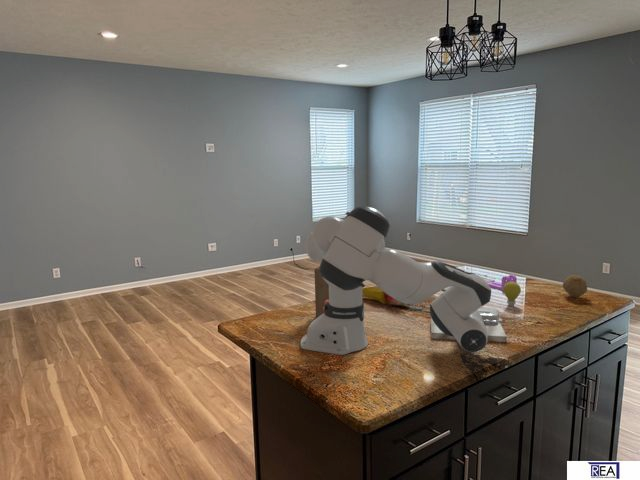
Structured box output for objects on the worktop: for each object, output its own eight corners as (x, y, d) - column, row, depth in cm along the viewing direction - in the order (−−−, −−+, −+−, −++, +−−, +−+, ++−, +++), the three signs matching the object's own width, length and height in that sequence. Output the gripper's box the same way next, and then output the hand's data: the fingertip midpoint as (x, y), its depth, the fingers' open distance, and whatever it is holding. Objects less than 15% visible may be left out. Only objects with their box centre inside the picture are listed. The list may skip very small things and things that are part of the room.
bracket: (516, 290, 206) (516, 275, 204) (508, 292, 203) (508, 277, 202) (492, 284, 217) (492, 270, 215) (484, 286, 214) (485, 271, 213)
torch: (365, 305, 202) (414, 308, 185) (355, 300, 196) (404, 304, 179) (368, 287, 204) (417, 289, 187) (358, 282, 198) (407, 284, 182)
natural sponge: (556, 295, 195) (558, 273, 193) (571, 293, 198) (572, 271, 197) (575, 301, 187) (577, 278, 185) (590, 298, 190) (592, 275, 188)
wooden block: (315, 318, 176) (313, 268, 172) (325, 310, 185) (324, 263, 181) (338, 321, 171) (337, 270, 168) (348, 313, 180) (347, 264, 177)
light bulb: (523, 306, 182) (525, 282, 180) (511, 309, 180) (512, 284, 178) (511, 302, 188) (512, 279, 187) (498, 304, 186) (499, 281, 184)
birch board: (431, 338, 153) (431, 332, 152) (430, 323, 166) (430, 318, 166) (506, 342, 147) (506, 336, 147) (499, 326, 161) (499, 321, 161)
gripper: (504, 313, 135) (496, 299, 148) (434, 310, 140) (433, 297, 153) (503, 333, 136) (495, 318, 149) (434, 329, 141) (432, 315, 154)
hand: (463, 307), depth 151 cm, fingers closed on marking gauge, 3 cm apart
